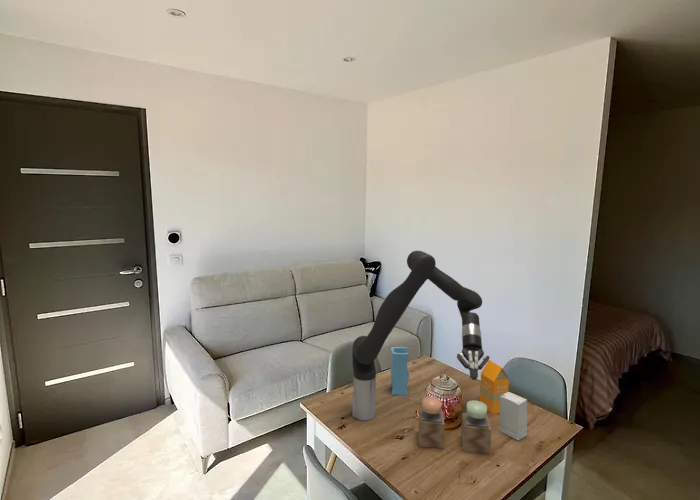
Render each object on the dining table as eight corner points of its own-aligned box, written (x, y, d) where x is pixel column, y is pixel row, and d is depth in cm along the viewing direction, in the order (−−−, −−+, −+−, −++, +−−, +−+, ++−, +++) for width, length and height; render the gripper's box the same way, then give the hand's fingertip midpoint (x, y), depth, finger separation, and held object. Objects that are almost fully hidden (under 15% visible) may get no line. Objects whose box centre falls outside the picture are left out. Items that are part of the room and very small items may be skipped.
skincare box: (526, 436, 146) (529, 399, 144) (517, 441, 142) (519, 404, 140) (507, 425, 153) (509, 390, 151) (497, 430, 149) (499, 394, 147)
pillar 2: (463, 451, 137) (464, 425, 136) (461, 436, 146) (462, 411, 145) (489, 454, 135) (491, 428, 134) (485, 438, 144) (487, 414, 143)
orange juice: (493, 401, 171) (496, 358, 169) (507, 411, 163) (510, 366, 160) (479, 403, 169) (481, 360, 166) (492, 414, 160) (494, 369, 158)
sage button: (467, 417, 136) (467, 409, 136) (465, 407, 143) (465, 399, 143) (488, 419, 135) (488, 411, 135) (485, 409, 142) (485, 401, 141)
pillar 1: (418, 445, 140) (418, 420, 139) (418, 431, 149) (419, 407, 148) (443, 448, 138) (444, 423, 137) (442, 434, 147) (443, 409, 146)
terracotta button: (421, 412, 139) (422, 405, 139) (422, 402, 146) (422, 395, 146) (441, 414, 138) (441, 407, 138) (440, 404, 145) (441, 397, 144)
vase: (408, 395, 176) (409, 353, 174) (391, 395, 176) (392, 353, 174) (406, 386, 184) (407, 347, 182) (390, 386, 184) (390, 347, 182)
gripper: (455, 332, 155) (457, 374, 145) (489, 334, 153) (493, 377, 143) (454, 340, 161) (455, 381, 151) (487, 342, 159) (490, 384, 148)
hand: (474, 379), depth 147 cm, fingers closed
